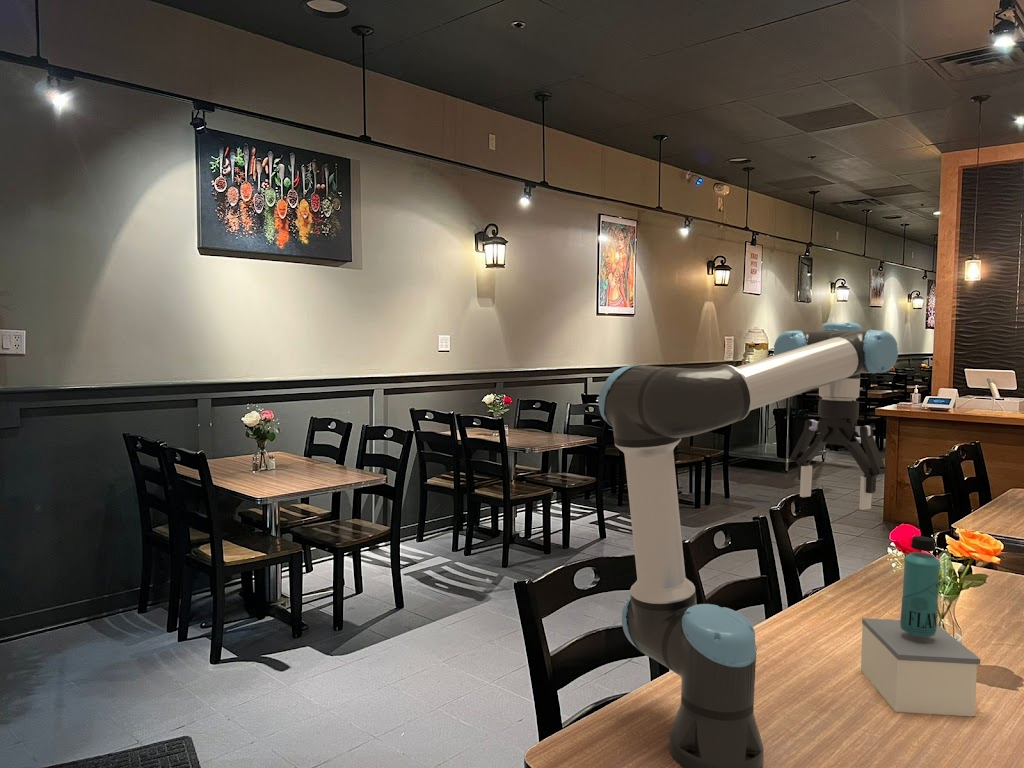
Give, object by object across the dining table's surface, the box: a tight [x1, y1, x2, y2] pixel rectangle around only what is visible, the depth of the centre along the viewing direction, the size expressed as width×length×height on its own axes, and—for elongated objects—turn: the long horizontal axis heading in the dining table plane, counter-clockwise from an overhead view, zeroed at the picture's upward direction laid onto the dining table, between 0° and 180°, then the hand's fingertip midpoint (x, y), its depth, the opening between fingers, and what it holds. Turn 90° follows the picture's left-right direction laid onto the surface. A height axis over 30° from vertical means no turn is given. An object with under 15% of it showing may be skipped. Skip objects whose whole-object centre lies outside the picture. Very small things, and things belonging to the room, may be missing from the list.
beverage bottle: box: [900, 535, 941, 636], centre depth 146 cm, size 6×7×20 cm
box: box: [860, 623, 978, 717], centre depth 147 cm, size 14×18×10 cm
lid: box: [861, 617, 981, 665], centre depth 147 cm, size 14×19×1 cm
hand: (834, 502), depth 152 cm, fingers open, 13 cm apart
